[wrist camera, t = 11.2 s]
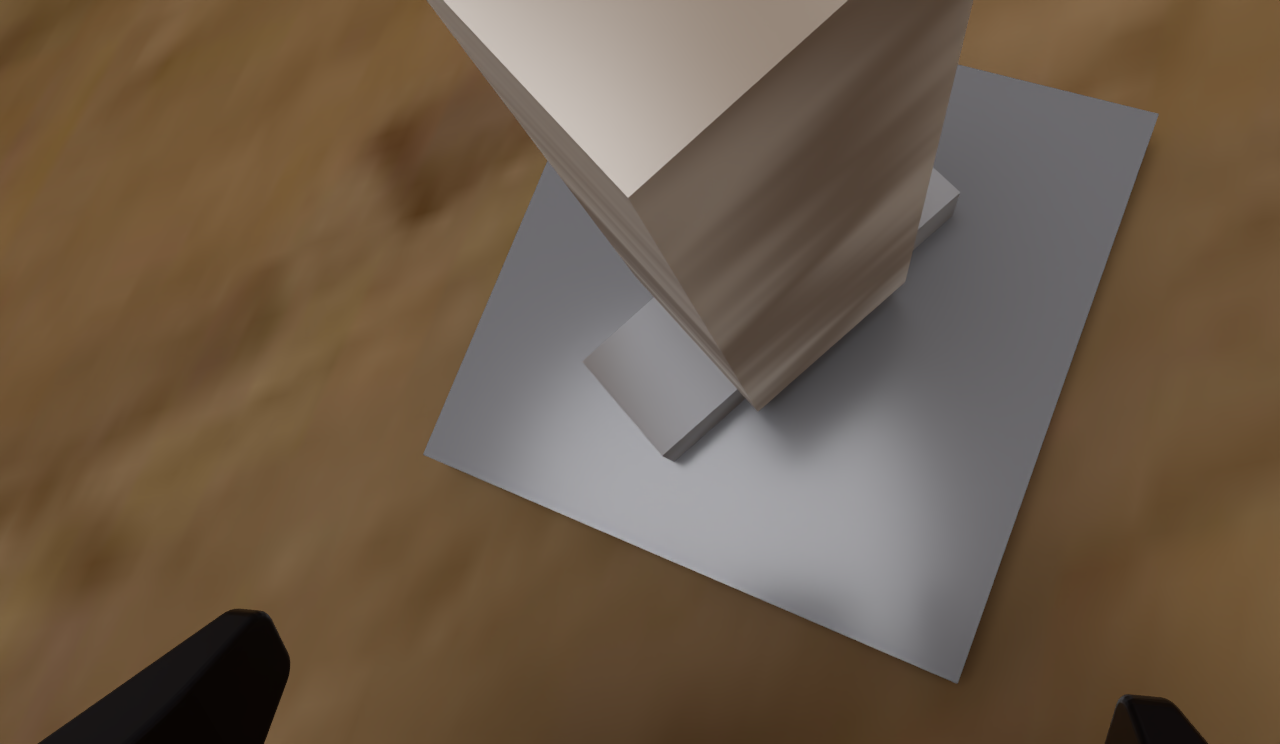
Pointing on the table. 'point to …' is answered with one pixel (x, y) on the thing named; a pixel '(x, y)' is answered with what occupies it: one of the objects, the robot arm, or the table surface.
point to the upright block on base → (732, 172)
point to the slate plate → (829, 388)
